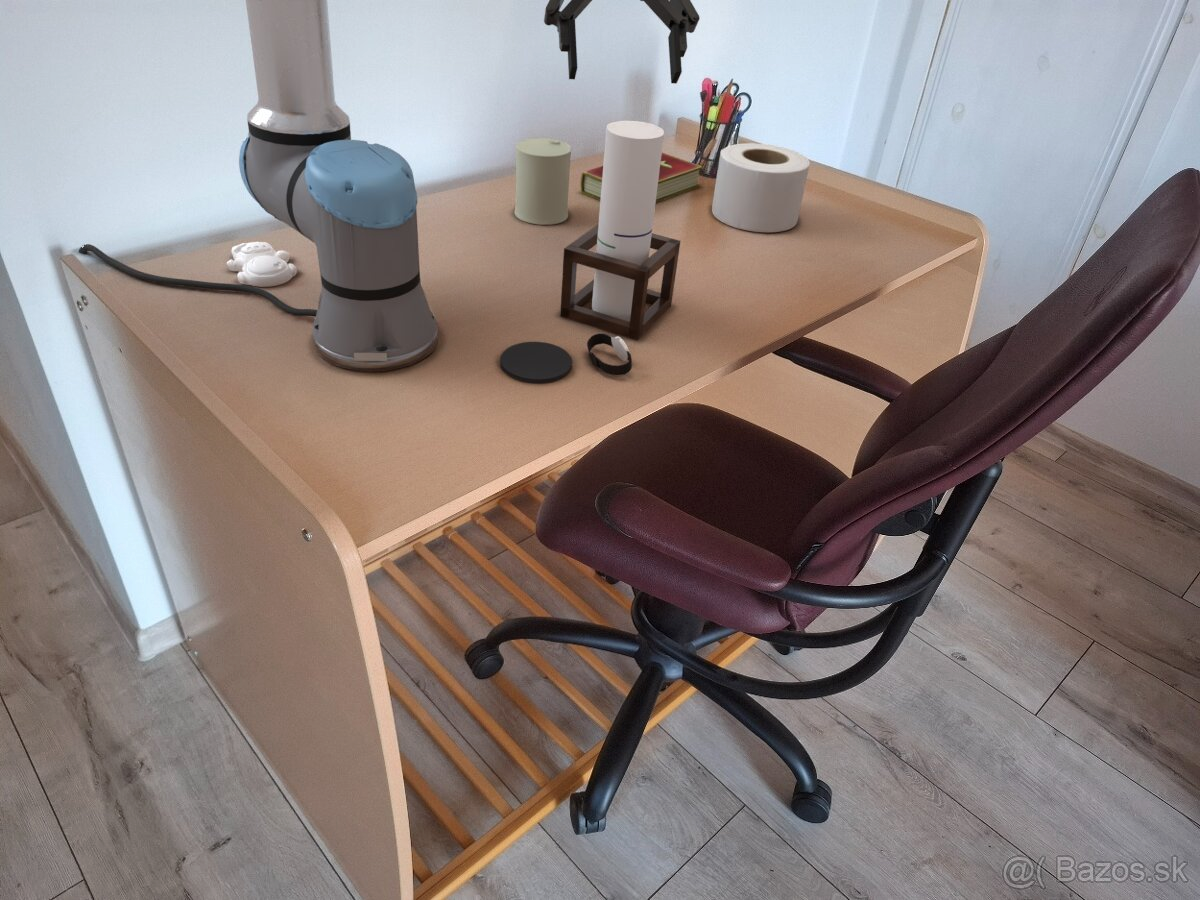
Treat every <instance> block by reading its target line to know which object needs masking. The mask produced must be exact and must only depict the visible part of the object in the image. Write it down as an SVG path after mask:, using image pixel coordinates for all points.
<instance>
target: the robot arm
mask: <svg viewBox="0 0 1200 900" xmlns="http://www.w3.org/2000/svg"><path fill="white" fill-rule="evenodd" d="M592 1H593V0H570V1H569V2H568V3H567V4H566V6H564V8H562V6H563V4H564V2H565V0H549V1H548V2H547V3H546V6H545V11H544V16H543V23H544V24H545V25H546V26H552V25H553V26H554V27H556V28H557V29H556V31H557V33H558V47H559V50H560V52H564V53H565V52H567V62H568V63H567V65H568V80H576V76H577V71H578V51H577V32H576V19H577V18H578V17H579V16H580V15H581V14H582V13H583V11H584V10H586V8H587V7H588V6H589V5H590V4H591V2H592ZM639 1H640V2H644V3H645V4H646V6H647V7H648V8H649V9H650V10H651V12H653V14H655V16H656V17H657V18H658V19H659V20H660V21H661V22H662V23H663V24H664V26H666V27H667V29H668V30H669V31H670V32H669V34H668V37H667V40H668V54H669V71H670V82H671V83H670V84H678V82H679V79H680V77H681V75H682V72H683V69H682V58H684V57H685V55H686V52H687V49H688V38H687V33H689V34H693V33H694V32H695V30H696V27H697V26H698V23H699V21H700V15H699V13H698V11H697V9H696V8H695V6H694V3H692V0H639ZM245 5H246V6H245V7H246V14H247V21H248V29H249V37H250V43H251V52H252V59H253V60H252V61H253V66H254V73H255V74H254V76H255V82H256V90H257V91H256V92H257V96H258V99H257V103H256V104H254V106H253V107H252V108H251V109H250V110H249V111H248V112H247V115H246V120H247V127H248V133H247V137H246V139H245V140H243V141H242V143H241V145H240V149H239V154H238V155H239V156H238V166H239V173H240V177H241V180H242V183H243V185H244V187H245V189H246V190H247V192H248V193H249V195H250V196H251V197H252V199H253V200H254V201H255V202H256V203H257V204H258V205H259V206H260V207H261V208H262V209H263V210H264V211H265V212H266V213H267V214H269V215H271V216H273V217H274V219H276V220H278V221H280V222H282V223H284V224H285V225H287V226H288V227H290V228H292V229H293V230H294V231H296V232H298V233H299V234H300V235H302V236H303V237H305V239H308V240H309V241H311V242H312V243H313V244H314V245H315V247H316V253H317V261H318V268H319V274H320V283H321V291H320V295H319V300H318V304H317V309H314V308H296V307H293V306H291V305H288V304H286V303H285V302H283V301H282V300H280V298H278V297H277V296H275V295H274V294H272V293H271V292H270V291H267V290H264V289H262V288H260V287H256V286H252V285H244V284H237V283H236V284H235V283H225V282H224V283H221V282H211V281H202V280H193V279H185V278H176V277H175V278H174V277H167V276H161V275H155V274H151V273H147V272H144V271H140V270H137V269H134V268H133V267H131V266H128V265H126V264H124V263H123V262H121V261H119V260H117V259H115V258H113V257H110V256H109V255H107V253H104V252H103V251H102V250H101V249H99V248H98V247H96V246H94V245H93V244H90V243H86V245H85V244H83V245H84V247H83V248H82V247H81V246H80V247H79V249H78V254H86V253H87V252H90V253H92V254H94V255H95V256H96V257H98V258H99V259H100V260H101V261H103V262H105V263H106V264H108V265H110V266H112V267H115V268H116V269H118V270H119V271H121V272H124V273H126V274H128V275H130V276H131V277H135V278H138V279H140V280H144V281H148V282H152V283H156V284H163V285H169V286H177V287H186V288H187V287H188V288H197V289H204V290H215V291H226V292H227V291H229V292H238V293H239V292H240V293H245V294H251V295H255V296H260V297H262V298H263V299H265V300H267V301H269V302H270V303H272V304H273V305H275V307H277V308H278V309H280V310H281V311H282V312H284V313H287V314H289V315H292V316H296V317H297V316H298V317H315V319H314V322H313V327H312V338H313V343H314V349H315V351H316V353H317V354H318V355H319V356H320V357H321V358H322V359H323V360H324V361H326V362H328V363H329V364H332V365H334V366H337V367H340V368H342V369H343V368H344V369H347V370H352V371H359V372H385V371H392V370H393V371H394V370H398V369H401V368H404V367H408V366H411V365H414V364H416V363H419V362H420V361H422V360H423V359H425V358H426V357H427V358H428V356H430V355H431V353H432V352H434V350H435V349H436V347H437V346H438V342H439V330H438V321H437V320H436V317H435V315H434V313H433V312H432V310H431V309H430V305H429V302H428V300H427V296H426V294H425V291H424V289H423V286H422V283H421V270H420V249H419V230H418V212H417V211H418V210H417V205H418V196H417V195H418V194H417V190H416V184H415V179H414V177H415V176H414V172H413V170H412V168H411V166H410V164H409V162H408V161H407V160H406V159H405V158H404V157H403V156H402V155H401V154H400V153H399V152H397V151H396V150H394V149H392V148H390V147H388V146H386V145H382V144H379V143H368V141H366V140H360V139H352V132H351V120H350V117H349V115H348V114H347V113H346V111H344V110H343V109H342V108H341V107H340V105H338V104H337V102H336V95H335V83H334V81H335V80H334V69H333V59H332V46H331V33H330V32H331V31H330V19H329V7H328V6H329V5H328V0H245ZM561 8H562V10H561Z"/></svg>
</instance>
